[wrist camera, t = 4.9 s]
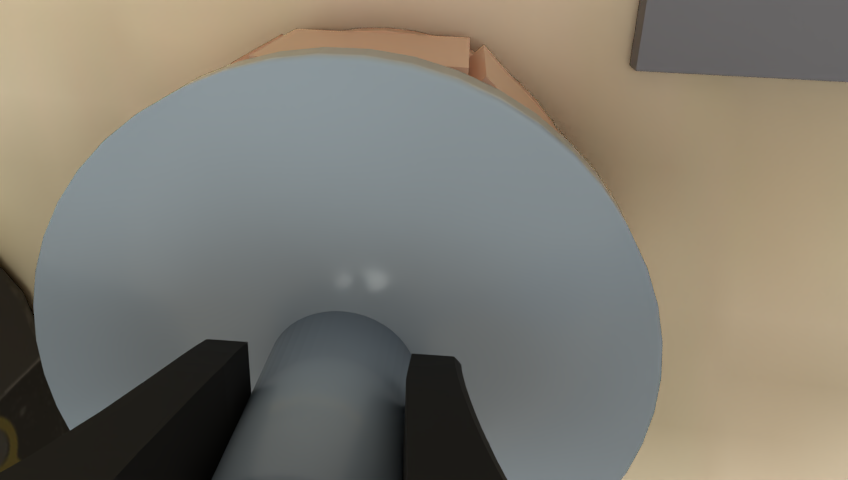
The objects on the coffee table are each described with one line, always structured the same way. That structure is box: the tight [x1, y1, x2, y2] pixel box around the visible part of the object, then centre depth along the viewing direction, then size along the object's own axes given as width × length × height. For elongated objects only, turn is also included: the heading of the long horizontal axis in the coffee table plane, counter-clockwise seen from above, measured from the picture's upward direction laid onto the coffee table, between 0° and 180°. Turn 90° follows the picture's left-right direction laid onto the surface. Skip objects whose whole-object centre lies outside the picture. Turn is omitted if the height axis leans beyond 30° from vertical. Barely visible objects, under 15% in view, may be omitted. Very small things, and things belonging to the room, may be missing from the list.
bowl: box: [231, 28, 561, 134], centre depth 15 cm, size 9×9×4 cm
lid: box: [33, 47, 662, 480], centre depth 10 cm, size 10×10×4 cm
